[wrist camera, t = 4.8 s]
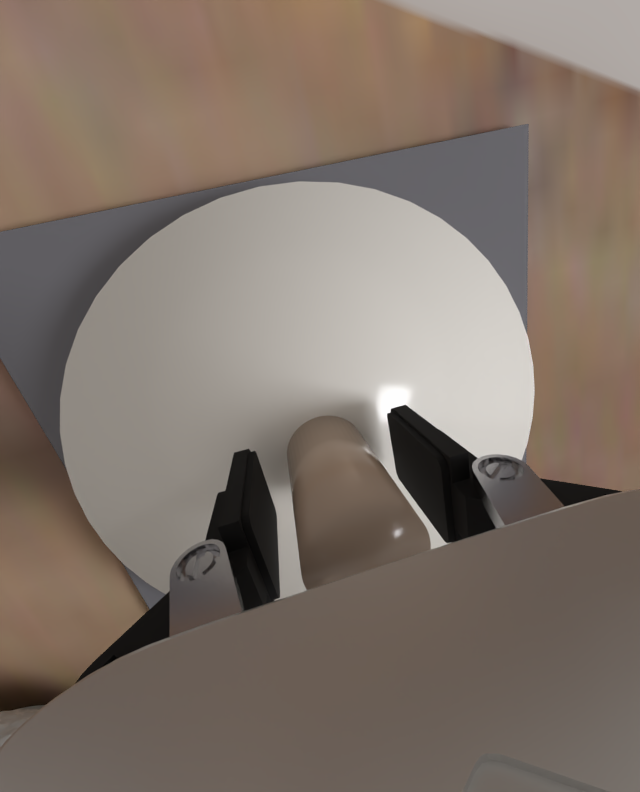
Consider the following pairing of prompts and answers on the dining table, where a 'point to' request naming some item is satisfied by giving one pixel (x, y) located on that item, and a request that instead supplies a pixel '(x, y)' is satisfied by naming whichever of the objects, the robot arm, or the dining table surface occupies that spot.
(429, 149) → the mat
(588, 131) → the dining table surface
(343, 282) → the lid
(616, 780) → the robot arm
